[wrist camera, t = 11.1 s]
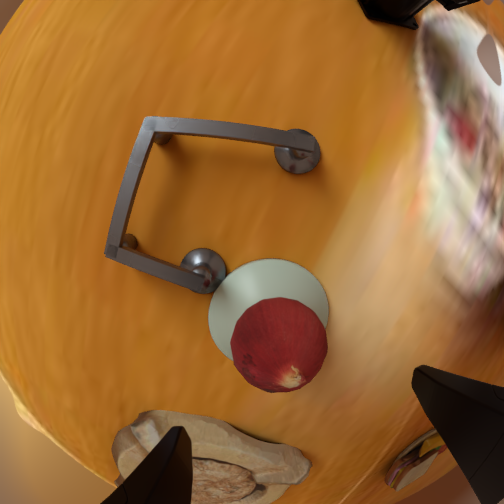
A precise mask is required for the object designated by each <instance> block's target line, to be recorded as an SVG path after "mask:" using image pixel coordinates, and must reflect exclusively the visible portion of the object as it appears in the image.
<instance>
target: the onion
mask: <svg viewBox="0 0 504 504" xmlns="http://www.w3.org/2000/svg"><path fill="white" fill-rule="evenodd" d="M230 345H231V351H232V356H233V361H234V365H235V367H236V368H237V370H238V371H239V372H240V373H241V375H242V376H243V377H244V378H245V379H246V380H247V382H248V383H250V384H251V385H253V386H255V387H257V388H259V389H262V390H264V391H266V392H270V393H274V392H290V391H294V390H297V389H300V388H301V387H303V386H304V385H306V384H307V383H309V382H310V381H311V380H312V379H313V378H314V377H315V375H316V374H317V373H318V372H319V370H320V369H321V367H322V364H323V361H324V359H325V356H326V354H327V349H328V345H327V337H326V331H325V328H324V325H323V324H322V322H321V321H320V319H319V318H318V316H317V315H316V313H315V312H314V311H313V310H312V309H310V308H309V307H307V306H306V305H304V304H303V303H301V302H299V301H298V300H293V299H288V298H284V297H276V298H269V299H262V300H261V301H259V302H257V303H256V304H254V305H252V306H251V307H249V308H247V309H246V310H245V312H244V313H243V314H242V315H241V317H240V318H239V319H238V320H237V322H236V325H235V328H234V331H233V334H232V338H231V341H230Z"/></svg>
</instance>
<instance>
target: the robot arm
mask: <svg viewBox="0 0 504 504" xmlns="http://www.w3.org/2000/svg"><path fill="white" fill-rule="evenodd" d="M432 1H433V0H358V2H359V4H360V6H361V8H362V10H363V12H364V14H365V16H366V17H367V18H369V19H371V20H376V21H381V22H386V23H391V24H395V25H399V26H403V27H407V28H410V29H414V30H416V29H418V24H417V22H416V20H415V18H414V17H413V16H415V15H416V14H417V13H418V12H419V11H421V10H422V9H423V8H424V7H426V6H427V5H428V4H429V3H431V2H432ZM436 1H438V2H439V3H440V4H442V5H443V7H444V8H445V9H447V10H448V11H450V10H453V9H457V8H460V7H462V6H465V5H469V4H472V3H475V2H478V1H480V0H436ZM412 388H413V390H414V392H415V394H416V396H417V398H418V400H419V402H420V404H421V406H422V408H423V410H424V412H425V413H426V415H427V417H428V418H429V420H430V421H431V423H432V424H433V426H434V427H435V429H436V430H437V432H438V433H439V435H440V436H441V438H442V439H443V441H444V443H445V444H446V446H447V447H448V449H449V450H450V452H451V454H452V455H453V457H454V458H455V460H456V462H457V463H458V465H459V466H460V468H461V470H462V471H463V473H464V475H465V476H466V478H467V480H468V482H469V483H470V485H471V487H472V488H473V490H474V492H475V494H476V496H477V497H478V499H479V501H480V503H481V504H497V503H499V501H501V500H502V499H503V498H504V387H500V386H496V385H491V384H488V383H484V382H481V381H477V380H474V379H470V378H466V377H463V376H459V375H456V374H453V373H449V372H446V371H443V370H439V369H436V368H433V367H430V366H427V365H421V366H419V367H416V368H415V369H414V372H413V378H412ZM192 485H193V462H192V442H191V439H190V437H189V435H188V433H187V431H186V429H185V428H184V427H183V426H173V427H171V428H170V430H169V431H168V432H167V433H166V434H165V435H164V437H163V438H162V439H161V440H160V441H159V442H158V444H157V445H156V446H155V447H154V448H153V449H152V450H151V452H150V453H149V454H148V455H147V456H146V457H145V458H144V459H143V461H142V462H141V463H140V464H139V465H138V466H137V467H136V468H135V469H134V471H133V472H132V473H131V474H130V475H129V476H128V477H127V478H126V479H125V480H124V481H123V484H120V486H119V487H118V488H117V489H116V490H115V491H114V492H113V493H112V494H111V495H110V496H109V497H107V498H106V499H105V500H104V501H103V502H102V503H100V504H191V498H192Z"/></svg>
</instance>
